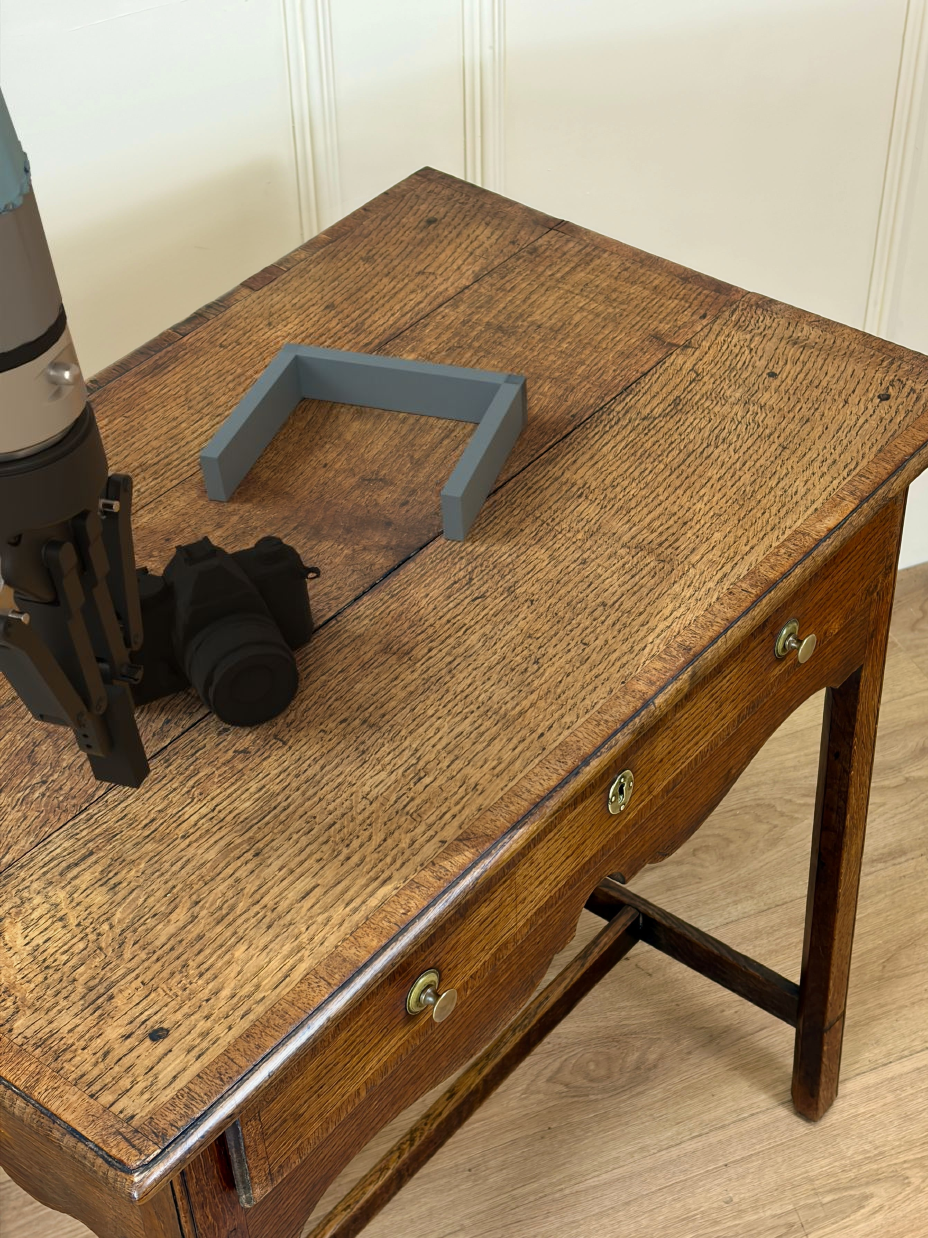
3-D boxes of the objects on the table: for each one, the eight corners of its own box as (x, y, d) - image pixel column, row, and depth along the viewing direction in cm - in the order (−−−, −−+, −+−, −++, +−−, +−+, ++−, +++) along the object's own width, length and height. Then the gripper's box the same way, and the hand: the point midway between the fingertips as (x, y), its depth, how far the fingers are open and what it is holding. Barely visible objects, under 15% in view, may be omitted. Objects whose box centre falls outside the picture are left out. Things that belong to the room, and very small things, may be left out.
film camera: (137, 777, 89) (104, 668, 82) (92, 681, 95) (57, 573, 89) (366, 690, 94) (351, 581, 87) (309, 604, 100) (290, 497, 93)
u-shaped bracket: (208, 499, 109) (198, 454, 106) (293, 385, 120) (286, 342, 117) (463, 542, 104) (460, 496, 101) (527, 419, 115) (526, 375, 112)
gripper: (3, 516, 61) (128, 876, 77) (148, 355, 70) (232, 708, 86) (-151, 490, 62) (3, 847, 79) (10, 336, 71) (118, 686, 88)
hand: (123, 774), depth 82 cm, fingers closed
